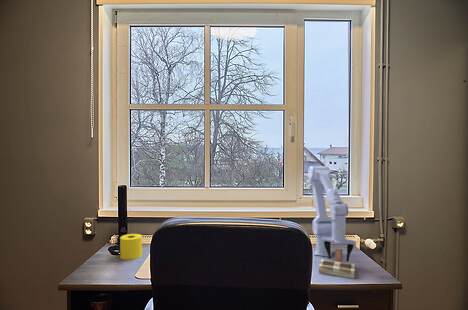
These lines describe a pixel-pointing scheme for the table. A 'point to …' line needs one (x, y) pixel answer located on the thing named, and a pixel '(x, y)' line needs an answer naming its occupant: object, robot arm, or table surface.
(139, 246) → the tape roll
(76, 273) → the table surface
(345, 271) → the bore block
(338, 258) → the dowel
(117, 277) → the table surface
